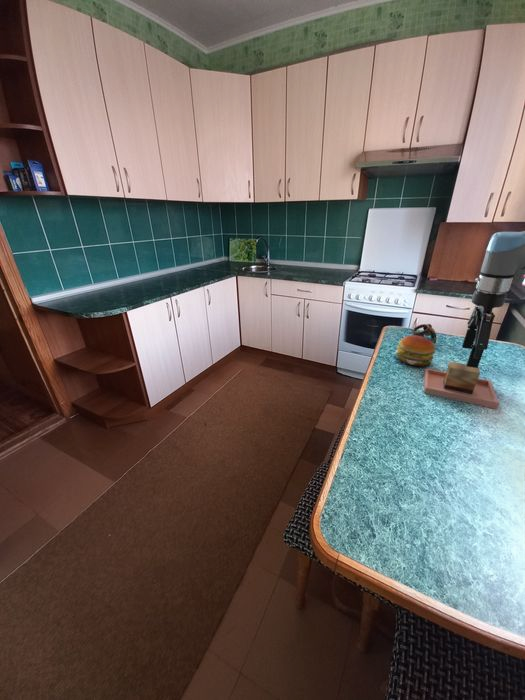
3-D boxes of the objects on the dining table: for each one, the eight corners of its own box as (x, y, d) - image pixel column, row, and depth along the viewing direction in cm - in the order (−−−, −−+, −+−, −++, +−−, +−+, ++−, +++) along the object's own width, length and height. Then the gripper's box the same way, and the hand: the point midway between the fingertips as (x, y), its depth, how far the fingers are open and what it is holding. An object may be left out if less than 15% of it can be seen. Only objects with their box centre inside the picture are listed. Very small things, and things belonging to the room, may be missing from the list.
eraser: (470, 387, 97) (478, 366, 93) (472, 394, 94) (480, 373, 90) (443, 381, 100) (449, 361, 97) (443, 388, 97) (450, 367, 93)
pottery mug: (436, 347, 127) (429, 332, 124) (413, 350, 134) (407, 335, 131) (441, 332, 134) (435, 317, 131) (419, 335, 141) (413, 321, 138)
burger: (430, 372, 107) (437, 348, 103) (391, 363, 114) (396, 340, 109) (433, 357, 118) (439, 334, 113) (397, 349, 124) (402, 328, 119)
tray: (488, 386, 99) (490, 380, 98) (496, 409, 88) (499, 403, 87) (424, 373, 107) (425, 368, 106) (424, 393, 96) (425, 387, 95)
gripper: (469, 280, 93) (452, 339, 103) (481, 301, 74) (458, 373, 83) (498, 281, 90) (477, 343, 100) (518, 305, 71) (490, 378, 80)
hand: (469, 356), depth 92 cm, fingers open, 13 cm apart
